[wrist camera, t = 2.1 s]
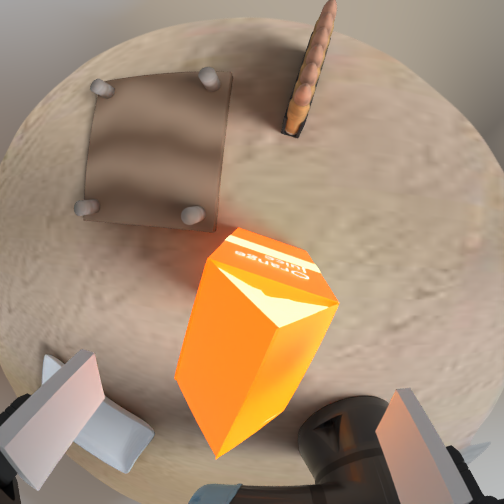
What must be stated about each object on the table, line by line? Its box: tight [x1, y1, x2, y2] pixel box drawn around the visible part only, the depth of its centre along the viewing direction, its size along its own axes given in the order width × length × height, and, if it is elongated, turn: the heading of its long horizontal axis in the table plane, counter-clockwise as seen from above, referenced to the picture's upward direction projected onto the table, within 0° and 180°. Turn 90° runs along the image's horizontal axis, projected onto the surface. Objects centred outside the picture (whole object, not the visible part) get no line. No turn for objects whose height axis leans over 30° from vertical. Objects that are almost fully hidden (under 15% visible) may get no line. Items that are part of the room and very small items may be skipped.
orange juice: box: [175, 228, 339, 459], centre depth 20 cm, size 8×9×20 cm
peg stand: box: [74, 67, 233, 232], centre depth 26 cm, size 17×16×4 cm
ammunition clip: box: [281, 0, 337, 138], centre depth 20 cm, size 11×2×12 cm, turn 163°
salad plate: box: [42, 354, 155, 473], centre depth 36 cm, size 21×21×3 cm
